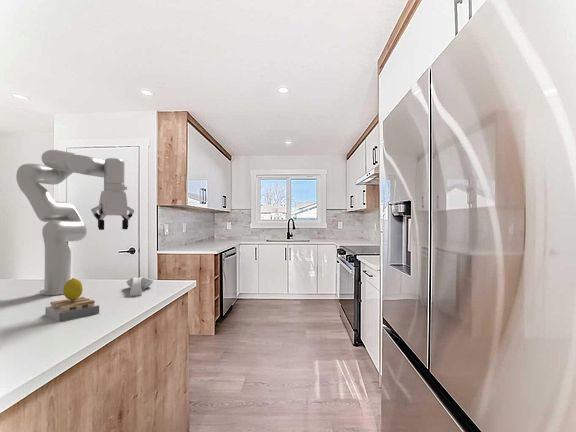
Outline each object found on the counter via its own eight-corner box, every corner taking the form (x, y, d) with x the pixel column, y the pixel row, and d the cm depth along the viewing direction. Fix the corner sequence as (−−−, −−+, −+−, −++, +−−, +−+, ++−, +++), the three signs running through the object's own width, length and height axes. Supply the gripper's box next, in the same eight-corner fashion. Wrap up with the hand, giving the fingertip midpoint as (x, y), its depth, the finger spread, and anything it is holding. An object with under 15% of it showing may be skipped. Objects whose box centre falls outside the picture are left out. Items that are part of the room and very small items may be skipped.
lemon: (73, 303, 112) (73, 279, 112) (59, 302, 114) (59, 279, 114) (86, 299, 118) (86, 277, 118) (72, 298, 119) (73, 276, 119)
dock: (45, 314, 114) (45, 307, 114) (83, 307, 124) (83, 300, 124) (60, 321, 107) (60, 313, 107) (99, 313, 117) (99, 305, 117)
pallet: (50, 307, 114) (50, 301, 114) (81, 301, 122) (82, 296, 123) (62, 312, 109) (62, 306, 109) (94, 306, 117) (94, 300, 117)
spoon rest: (127, 286, 163) (128, 272, 163) (153, 285, 167) (154, 271, 167) (121, 297, 141) (121, 280, 141) (151, 295, 145) (151, 279, 145)
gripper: (129, 190, 149) (128, 229, 149) (87, 187, 135) (87, 229, 135) (138, 189, 145) (138, 229, 144) (96, 186, 131) (95, 230, 130)
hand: (113, 229), depth 140 cm, fingers open, 9 cm apart
